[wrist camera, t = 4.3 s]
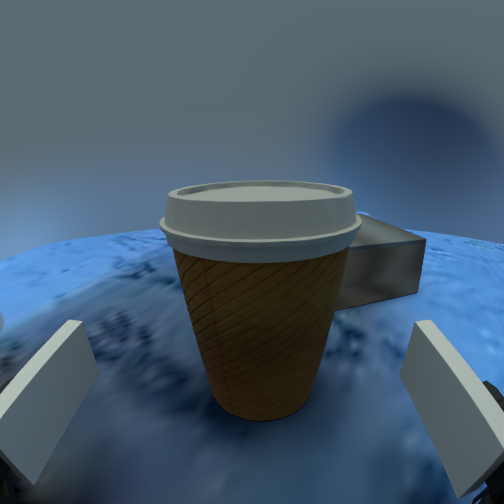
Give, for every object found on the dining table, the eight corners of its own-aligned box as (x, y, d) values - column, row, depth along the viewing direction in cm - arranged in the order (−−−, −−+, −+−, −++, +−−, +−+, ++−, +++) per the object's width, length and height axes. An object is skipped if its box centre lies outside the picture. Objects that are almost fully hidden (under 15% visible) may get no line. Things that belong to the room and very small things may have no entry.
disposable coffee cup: (278, 329, 24) (279, 177, 20) (367, 392, 16) (402, 194, 12) (166, 367, 19) (139, 190, 15) (232, 471, 11) (207, 216, 8)
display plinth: (357, 255, 41) (360, 213, 39) (417, 292, 29) (426, 239, 27) (270, 265, 38) (270, 218, 36) (311, 314, 26) (315, 250, 24)
